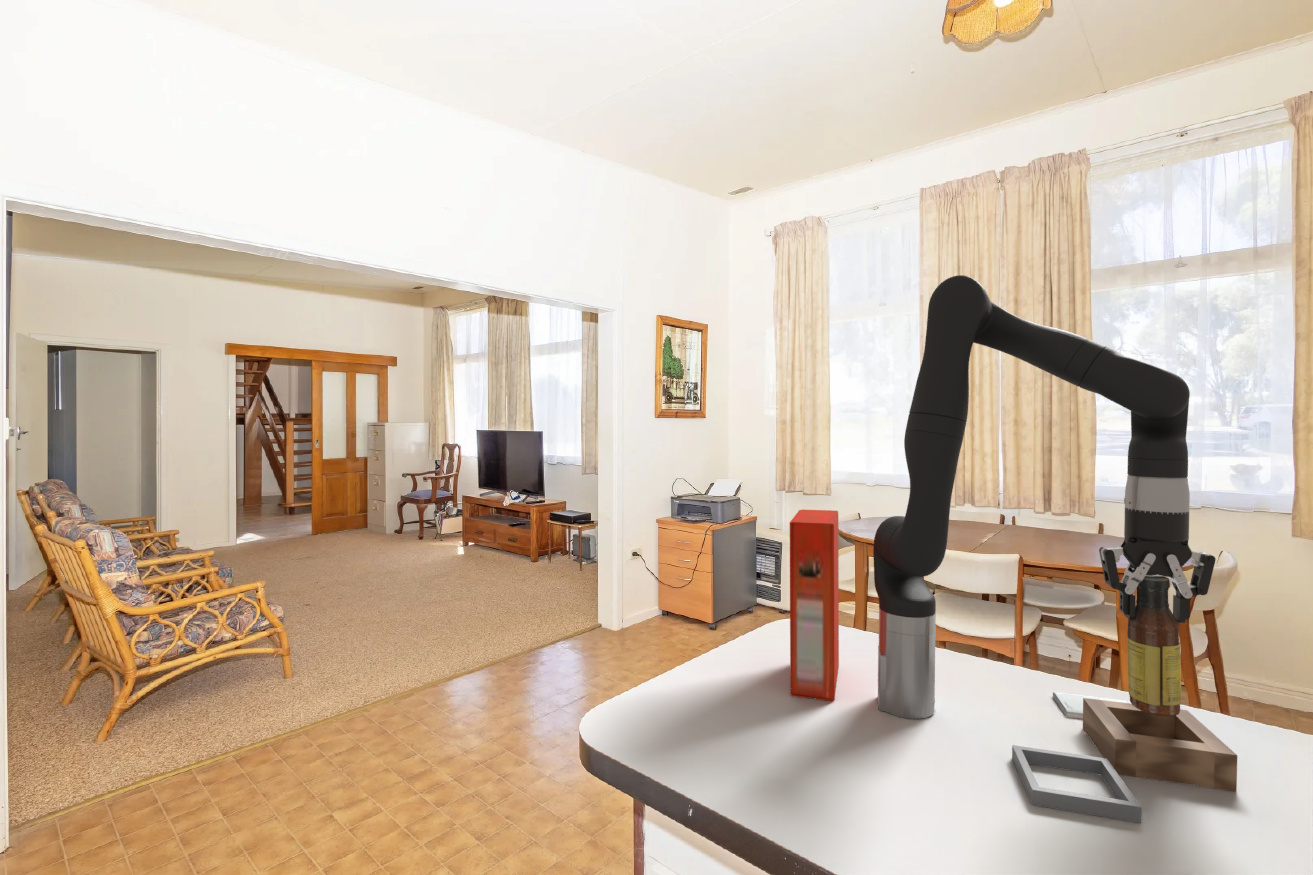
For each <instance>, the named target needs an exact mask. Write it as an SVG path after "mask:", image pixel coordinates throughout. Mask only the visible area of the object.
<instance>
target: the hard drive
mask: <svg viewBox="0 0 1313 875" xmlns="http://www.w3.org/2000/svg"><path fill="white" fill-rule="evenodd" d="M1052 697H1053V699H1054V701H1055V703H1056V704H1057V706H1059V708H1060V709H1061V711H1062V713H1064V715H1065V717H1066V718H1074V719H1082V720H1083V698H1088V699H1097V700H1105V701H1113V702H1122V703H1130V704H1131V702H1130V700H1123V699H1122V700H1121V699H1114V698H1113V699H1112V698H1105V697H1096V696H1091V695H1090V696H1088V695H1081V694H1074V693H1073V694H1072V693H1065V692H1057V691H1056V692H1055V691H1052Z"/></svg>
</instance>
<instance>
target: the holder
mask: <svg viewBox="0 0 1313 875" xmlns="http://www.w3.org/2000/svg"><path fill="white" fill-rule="evenodd" d="M1082 729H1083V731H1084V732H1085V734H1086V735H1087V737H1088V738H1089V740H1091V742H1092V743H1093V745H1094V746H1095V748H1096V749H1097V750H1098V752H1099V753H1100V754H1101V756H1102V758H1107V759H1108V761H1109V762H1110V764H1111V765H1112V766H1113V768H1114V769H1115V771H1116V772H1117V773H1118V775H1121V776H1122V775H1123V776H1128V777H1135V778H1136V777H1137V778H1142V779H1148V780H1156V781H1162V782H1163V781H1164V782H1170V783H1175V784H1184V785H1190V786H1196V787H1202V788H1203V787H1204V788H1209V789H1217V790H1223V791H1230V792H1235V793H1236V792H1237V791H1238V790H1237V787H1238V786H1237V785H1238V784H1237V781H1238V780H1237V778H1238V754H1237V753H1236V752H1234V751H1233V750H1232V749H1231V748H1230V747H1229V746H1228V745H1227V744H1225V743H1224V742H1223V741H1222V740H1221V739H1220V738H1219V737H1218V736H1216V735H1215V734H1214V732H1212V731H1211V730H1210V729H1209V728H1208V727H1206V725H1204V724H1203V723H1202V722H1201V721H1200V720H1199V719H1198V718H1196V717H1195V715H1193V714H1192V713H1191V712H1190V711H1189V710H1187V709H1181V708H1180V713H1179V714H1178V715H1176V716H1159V715H1155V714H1151V713H1147V712H1144V711H1141V710H1139V709H1138V708H1136V707H1134V706H1133V705H1132V704H1130V703H1122V702H1113V701H1105V700H1097V699H1088V698H1083V719H1082Z"/></svg>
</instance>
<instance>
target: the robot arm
mask: <svg viewBox="0 0 1313 875" xmlns="http://www.w3.org/2000/svg"><path fill="white" fill-rule="evenodd" d="M974 344H976V345H981V346H984V347H988V348H990V349H994V350H996V351H999V352H1002V353H1004V354H1007V355H1010V356H1012V357H1014V358H1017V359H1019V360H1020V361H1023V362H1025V363H1027V364H1030V365H1031V366H1034V367H1036V368H1037V369H1039V370H1042V371H1044V372H1046V373H1049V374H1050V375H1052V376H1054V377H1056V378H1058V379H1060V380H1063V381H1066V382H1067V383H1069V384H1072V385H1073V386H1076V387H1079V388H1081V389H1083V390H1085V391H1088V392H1091V393H1093V394H1097V395H1100V396H1102V397H1104V398H1106V399H1107V400H1110V401H1111V402H1113V403H1114V404H1117V405H1119V406H1121V407H1122V408H1125V409H1127V410H1129V412H1130V430H1131V431H1130V432H1131V433H1130V434H1131V436H1130V441H1129V444H1128V450H1127V475H1126V477H1127V478H1126V484H1125V490H1124V497H1123V503H1124V524H1123V525H1124V527H1123V528H1124V529H1123V530H1124V531H1123V534H1124V539H1123V541H1122V544H1121V545H1120V546H1119V547H1117V546H1116V547H1106V546H1101V547H1099V551H1098V552H1099V557H1100V563H1101V568H1102V572H1103V573H1102V574H1103V578H1104V582H1105V584H1106V585H1108V586H1109V587H1110V588H1112V589H1114V590H1116V591H1117V590H1118V591H1119V610H1120V612H1121V613H1122V614H1123V615H1124V616H1125V617H1126V618H1127V620H1128V619H1135V606H1136V594H1134V593H1135V591H1137V586H1138V584H1139V583H1140V582H1142V580H1143V579H1144V577H1145V575H1150V576H1152V575H1159V576H1164V577H1167V578H1168V579H1169V582H1170V585H1172V588H1173V590H1174V592H1175V594H1173V595H1172V614H1173V615H1174V617H1175V619H1176V620H1177V621H1178V624H1185V623H1186V621H1188V620H1189V619H1190V618H1191V599H1192V598H1193V597H1196V596H1206V595H1208V592H1209V589H1210V585H1211V584H1210V583H1211V580H1212V576H1213V571H1214V568H1215V564H1216V557H1215V556H1214V555H1211V554H1210V553H1208V552H1204V551H1199V552H1198V551H1194V550H1192V549H1191V548H1190V545H1189V540H1190V500H1191V498H1190V496H1191V495H1190V493H1191V492H1190V485H1189V451H1188V450H1189V449H1188V445H1187V444H1188V443H1187V430H1188V420H1189V405H1190V404H1189V403H1190V396H1191V395H1190V394H1191V393H1190V388H1189V386H1188V384H1187V383H1186V381H1185V380H1184V378H1182V377H1180V375H1177V374H1176V373H1173V372H1171V371H1169V370H1166V369H1164V368H1160V367H1157V366H1156V365H1153V364H1150V363H1147V362H1144V361H1141V360H1138V359H1135V358H1133V357H1132V358H1131V357H1129V356H1126V355H1124V354H1122V353H1121V352H1119V351H1117V350H1115V349H1113V348H1111V347H1109V346H1107V345H1104V344H1101V343H1099V342H1097V341H1094V340H1092V339H1089V338H1087V337H1084V336H1082V335H1080V334H1076V333H1073V332H1071V331H1067V330H1063V329H1060V328H1056V327H1051V326H1046V325H1042V324H1039V323H1035V322H1032V321H1029V320H1026V319H1024V318H1022V317H1019V316H1017V315H1015V314H1013V313H1011V312H1009V311H1007V310H1006V309H1004V308H1002V307H1000V306H999V305H998V304H996V303H994V302H993V301H992V300H991V299H990V297H989V295H988V291H986V289H985V287H984V286H983V284H981V283H980V282H979V281H978V280H976V279H975V278H973V277H971V276H968V275H964V274H963V275H962V274H958V275H953V276H950V277H948V278H946V279H944V280H943V281H942V282H941V283H939V284H938V286H936V288H935V289H934V291H933V292H932V293H931V296H930V298H929V302H928V308H927V320H926V331H925V340H924V351H923V356H922V361H921V364H920V368H919V371H918V375H917V380H916V383H915V387H914V391H913V395H912V400H911V405H910V408H909V412H908V413H909V414H908V417H907V422H906V427H905V432H904V442H903V443H904V444H903V445H904V447H903V448H904V453H905V454H904V455H905V461H906V465H907V466H906V467H907V471H908V477H909V495H908V496H909V497H908V501H907V502H908V503H907V506H906V511H905V515H904V516H902V515H894V516H890V517H888V518H886V519H885V520H883V521H882V522H880V524H879V526H878V527H877V528H876V531H875V534H874V539H873V549H872V551H873V577H874V578H873V580H874V588H875V593H877V597H878V646H877V707H878V711H883V712H886V713H889V714H890V715H894V716H897V717H900V718H906V719H915V720H916V719H926V718H929V717H931V716H934V713H935V704H936V698H935V696H936V692H935V691H936V688H935V687H936V624H937V623H936V622H937V621H936V612H937V611H936V609H937V608H936V607H937V606H936V602H937V601H936V598H935V596H934V594H933V592H932V591H931V589H930V588H929V587H928V585H927V583H926V581H925V577H928V576H929V575H932V574H934V573H935V572H936V571H937V570H938V569H939V567H940V566H941V564H942V563H943V561H944V559H945V555H946V550H947V546H948V535H949V525H950V523H949V522H950V513H951V503H952V497H953V494H952V493H953V490H954V485H955V479H956V474H957V468H958V462H959V457H960V453H961V449H962V446H963V445H962V444H963V441H964V436H965V431H966V426H967V422H968V414H969V405H970V404H969V401H970V399H969V398H970V397H969V396H970V395H969V394H970V377H969V374H970V373H969V371H970V370H969V368H970V357H971V352H972V349H973V345H974ZM1122 555H1123V556H1124V558H1125V559H1126V560H1127V561H1128V564H1127V566H1126V568H1125V570H1124V573H1123V574H1124V575H1123V577H1122V579H1121V580H1120V576H1119V571H1118V566H1117V563H1118V562H1120V559H1121V556H1122ZM1189 560H1190V561H1191V565H1193V569H1192V570H1193V571H1192V574H1191V578H1190V582H1189V584H1188V579H1187V577H1186V575H1185V573H1184V571H1183V569H1182V568H1183V566H1185V564H1187V562H1189Z"/></svg>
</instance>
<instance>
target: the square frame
mask: <svg viewBox="0 0 1313 875" xmlns="http://www.w3.org/2000/svg"><path fill="white" fill-rule="evenodd" d="M1011 758H1012V761H1013V764H1014V766H1015V768H1016V770H1017V773H1018V776H1019V777H1020V779H1021V782H1022V784H1023V787H1024V788H1025V791H1026V794H1027V797H1028V798H1029V801H1030V802H1031V805H1032V806H1038V807H1044V808H1050V809H1054V810H1055V809H1056V810H1062V811H1065V812H1066V811H1068V812H1073V813H1078V814H1079V813H1080V814H1084V815H1085V814H1086V815H1091V816H1097V817H1103V818H1109V819H1115V820H1119V821H1120V820H1121V821H1126V822H1127V821H1128V822H1131V823H1139V824H1142V819H1143V818H1142V812H1143V807H1142V806H1141V804H1140V803H1139V801H1138V800H1137V799H1136V797H1135V796H1134V794H1133V793H1132V792H1131V790H1130V789H1129V787H1128V786H1127V785H1126V783H1125V781H1124V780H1123V779H1122V778H1121V776H1120V774H1118V773H1117V772H1116V771H1115V769H1114V768H1113V766H1112V765H1111V764H1110V762H1109V761H1108V759H1107V758H1103V757H1099V756H1091V755H1085V754H1078V753H1072V752H1071V753H1070V752H1064V751H1059V750H1058V751H1056V750H1049V749H1043V748H1037V747H1029V746H1022V745H1015V744H1013V745H1011ZM1030 765H1034V766H1040V767H1048V768H1054V769H1059V770H1067V771H1074V772H1080V773H1084V774H1085V773H1086V774H1091V775H1098V776H1099V775H1100V776H1101V777H1102V779H1103V780H1104V782H1105V783H1106V784H1107V786H1108V788H1109V790H1110V791H1111V793H1112V794H1113V796H1114V797H1115V798H1110V797H1105V796H1098V795H1093V794H1087V793H1079V792H1074V791H1073V792H1072V791H1068V790H1067V791H1066V790H1061V789H1055V788H1049V787H1042V786H1039V784H1038V781H1037V779H1036V778H1035V775H1034V773H1033V771H1032V769H1031V766H1030Z"/></svg>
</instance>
